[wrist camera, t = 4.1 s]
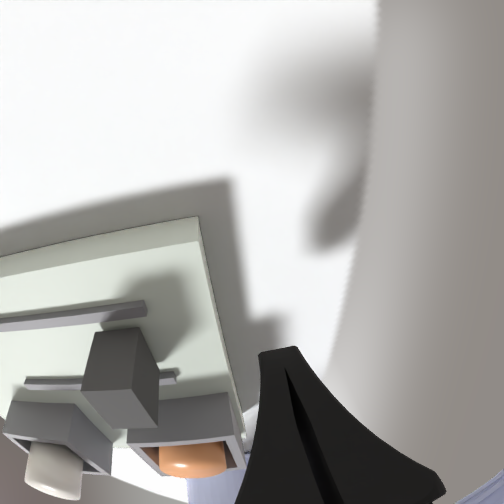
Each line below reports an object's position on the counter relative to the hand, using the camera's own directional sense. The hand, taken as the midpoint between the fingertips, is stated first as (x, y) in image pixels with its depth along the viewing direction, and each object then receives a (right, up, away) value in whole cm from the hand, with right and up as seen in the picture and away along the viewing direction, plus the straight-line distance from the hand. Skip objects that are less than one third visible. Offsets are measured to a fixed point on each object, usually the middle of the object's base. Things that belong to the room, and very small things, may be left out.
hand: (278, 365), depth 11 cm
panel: (-11, -2, +4) cm, 12 cm away
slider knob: (-6, 0, +1) cm, 6 cm away
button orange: (-5, -6, +5) cm, 9 cm away
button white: (-13, -8, +3) cm, 16 cm away
